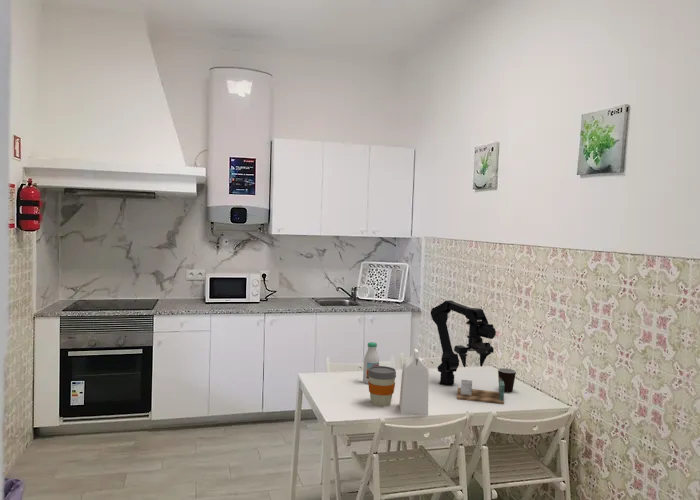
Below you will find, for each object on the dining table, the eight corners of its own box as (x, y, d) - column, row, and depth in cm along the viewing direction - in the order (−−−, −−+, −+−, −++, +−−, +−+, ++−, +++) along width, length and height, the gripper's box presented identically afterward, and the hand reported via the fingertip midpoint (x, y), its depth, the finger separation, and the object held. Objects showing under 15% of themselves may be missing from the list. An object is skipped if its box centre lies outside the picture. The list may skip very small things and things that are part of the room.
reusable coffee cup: (375, 396, 261) (376, 364, 260) (399, 401, 254) (401, 369, 254) (361, 403, 250) (363, 370, 249) (386, 409, 244) (388, 375, 243)
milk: (399, 404, 251) (402, 346, 250) (425, 405, 251) (428, 347, 249) (400, 413, 239) (403, 353, 238) (428, 414, 239) (431, 354, 237)
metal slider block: (460, 394, 264) (461, 382, 264) (460, 391, 270) (461, 379, 270) (471, 395, 263) (472, 383, 263) (471, 392, 269) (472, 380, 268)
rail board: (456, 399, 262) (457, 382, 261) (457, 391, 273) (458, 375, 273) (503, 404, 257) (504, 387, 257) (502, 396, 269) (503, 379, 268)
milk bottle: (360, 383, 280) (362, 343, 279) (366, 379, 288) (367, 340, 286) (375, 385, 278) (377, 345, 276) (380, 381, 285) (382, 342, 284)
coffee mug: (515, 394, 274) (516, 373, 273) (497, 392, 275) (498, 372, 275) (513, 387, 285) (514, 367, 284) (496, 385, 287) (497, 366, 286)
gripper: (466, 339, 260) (464, 372, 261) (501, 338, 266) (498, 370, 267) (454, 333, 271) (452, 365, 272) (488, 332, 277) (486, 364, 278)
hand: (472, 366), depth 272 cm, fingers open, 9 cm apart
